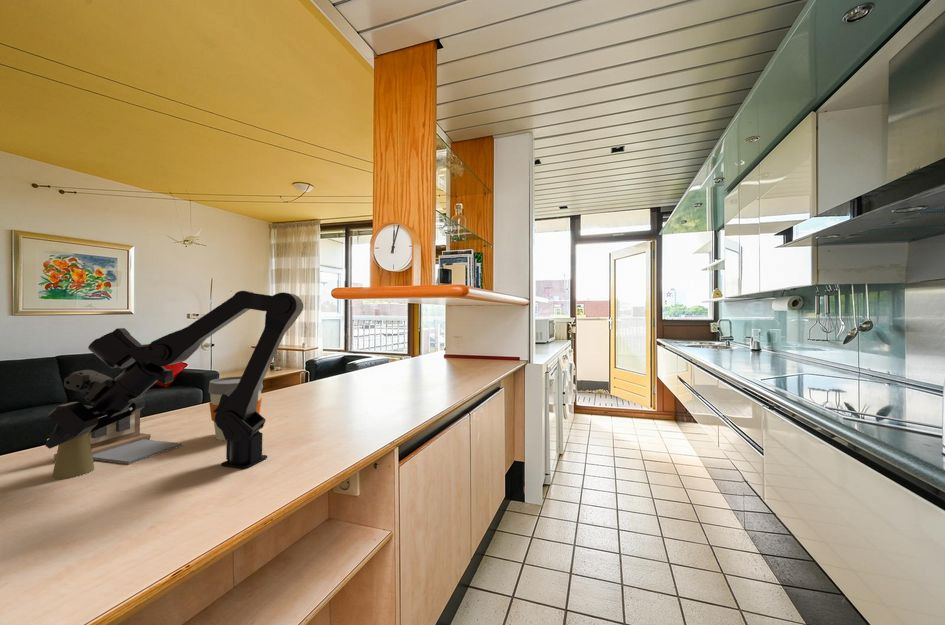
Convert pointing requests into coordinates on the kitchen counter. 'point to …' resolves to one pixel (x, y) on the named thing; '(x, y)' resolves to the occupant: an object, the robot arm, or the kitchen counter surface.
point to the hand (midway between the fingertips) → (68, 439)
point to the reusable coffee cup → (216, 391)
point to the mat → (135, 451)
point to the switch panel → (117, 434)
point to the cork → (74, 458)
